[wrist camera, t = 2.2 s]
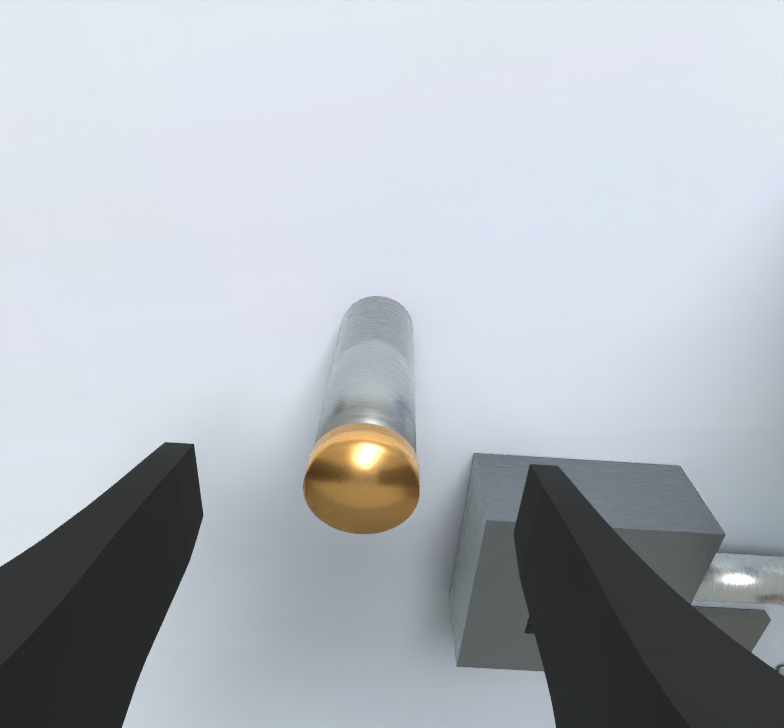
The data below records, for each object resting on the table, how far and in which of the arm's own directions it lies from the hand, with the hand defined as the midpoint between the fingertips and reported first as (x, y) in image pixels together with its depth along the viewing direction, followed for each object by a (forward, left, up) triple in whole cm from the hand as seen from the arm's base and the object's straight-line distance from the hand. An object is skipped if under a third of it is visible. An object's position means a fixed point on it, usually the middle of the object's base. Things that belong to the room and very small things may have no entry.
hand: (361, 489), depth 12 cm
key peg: (0, 0, -8) cm, 8 cm away
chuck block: (+9, +12, -8) cm, 17 cm away
